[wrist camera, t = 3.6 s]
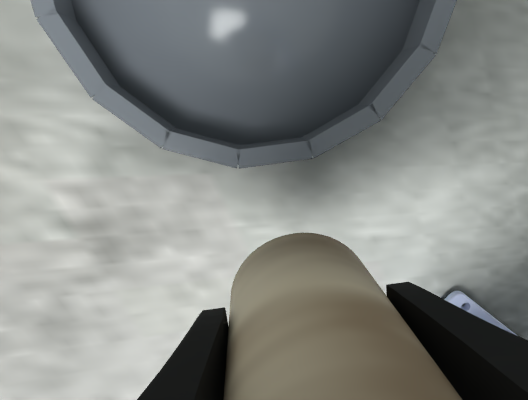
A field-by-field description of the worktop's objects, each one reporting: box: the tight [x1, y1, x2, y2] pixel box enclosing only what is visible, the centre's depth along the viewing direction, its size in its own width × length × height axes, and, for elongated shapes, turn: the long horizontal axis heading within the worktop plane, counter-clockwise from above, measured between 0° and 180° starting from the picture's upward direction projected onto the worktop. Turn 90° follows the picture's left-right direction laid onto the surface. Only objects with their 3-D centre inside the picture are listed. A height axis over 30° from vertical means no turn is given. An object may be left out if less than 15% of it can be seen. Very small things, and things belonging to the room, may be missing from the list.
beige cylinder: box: [223, 233, 462, 400], centre depth 8 cm, size 4×4×6 cm
